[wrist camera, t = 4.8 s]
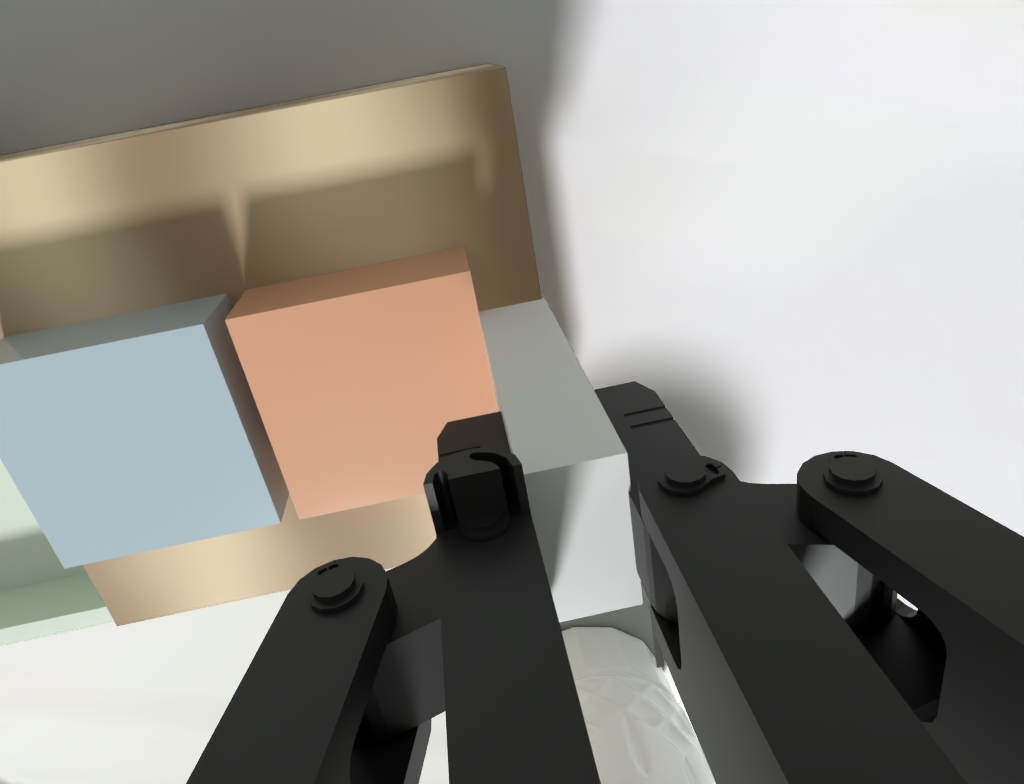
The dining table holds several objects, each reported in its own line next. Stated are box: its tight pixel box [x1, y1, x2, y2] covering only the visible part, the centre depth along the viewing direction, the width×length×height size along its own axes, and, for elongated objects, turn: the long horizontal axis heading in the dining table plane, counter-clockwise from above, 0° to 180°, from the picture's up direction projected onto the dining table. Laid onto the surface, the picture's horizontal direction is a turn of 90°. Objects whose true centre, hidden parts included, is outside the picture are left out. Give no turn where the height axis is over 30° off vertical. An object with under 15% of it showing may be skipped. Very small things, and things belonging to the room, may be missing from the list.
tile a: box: [225, 247, 498, 520], centre depth 16 cm, size 5×5×2 cm
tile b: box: [0, 293, 289, 569], centre depth 16 cm, size 5×5×2 cm
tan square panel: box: [0, 64, 541, 626], centre depth 19 cm, size 13×12×4 cm
